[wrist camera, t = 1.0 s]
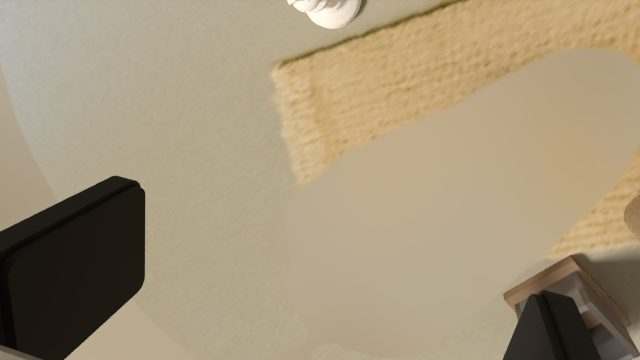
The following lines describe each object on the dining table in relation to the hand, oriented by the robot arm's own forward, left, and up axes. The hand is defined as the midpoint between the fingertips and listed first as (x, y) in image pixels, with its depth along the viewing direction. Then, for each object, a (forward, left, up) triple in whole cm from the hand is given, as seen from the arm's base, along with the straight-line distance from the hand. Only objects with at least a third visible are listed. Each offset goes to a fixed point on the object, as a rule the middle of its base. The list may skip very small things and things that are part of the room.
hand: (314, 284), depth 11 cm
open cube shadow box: (+3, +25, -30) cm, 39 cm away
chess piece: (0, -9, -31) cm, 32 cm away
